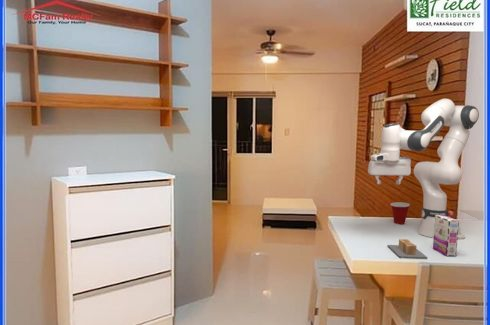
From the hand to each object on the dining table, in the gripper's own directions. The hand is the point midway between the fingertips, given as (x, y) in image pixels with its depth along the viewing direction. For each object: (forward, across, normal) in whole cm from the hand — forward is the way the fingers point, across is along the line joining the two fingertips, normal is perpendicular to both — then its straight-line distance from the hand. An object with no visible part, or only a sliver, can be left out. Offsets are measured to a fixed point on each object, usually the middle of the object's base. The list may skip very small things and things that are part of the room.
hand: (388, 184), depth 189 cm
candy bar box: (+29, -21, +16) cm, 40 cm away
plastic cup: (+30, -20, -36) cm, 51 cm away
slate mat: (+29, -3, +18) cm, 34 cm away
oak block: (+26, -3, +23) cm, 35 cm away
